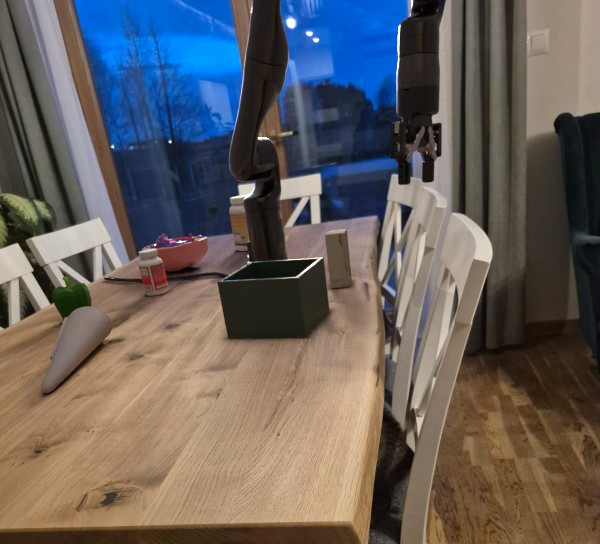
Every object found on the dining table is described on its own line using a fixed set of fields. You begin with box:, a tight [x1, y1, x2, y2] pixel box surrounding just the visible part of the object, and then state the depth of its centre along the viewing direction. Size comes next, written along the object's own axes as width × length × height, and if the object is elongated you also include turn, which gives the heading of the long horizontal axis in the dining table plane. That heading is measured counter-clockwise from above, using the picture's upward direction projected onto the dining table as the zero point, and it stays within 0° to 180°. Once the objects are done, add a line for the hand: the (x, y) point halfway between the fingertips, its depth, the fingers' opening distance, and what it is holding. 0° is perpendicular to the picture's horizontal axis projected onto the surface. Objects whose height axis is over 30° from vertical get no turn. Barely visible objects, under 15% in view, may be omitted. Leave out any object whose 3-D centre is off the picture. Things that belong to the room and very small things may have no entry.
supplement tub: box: [228, 193, 250, 252], centre depth 192 cm, size 12×12×17 cm
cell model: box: [141, 233, 209, 273], centre depth 175 cm, size 17×20×11 cm
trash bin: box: [217, 257, 330, 339], centre depth 111 cm, size 16×16×11 cm
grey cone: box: [41, 306, 113, 394], centre depth 105 cm, size 8×9×26 cm
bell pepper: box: [51, 275, 93, 320], centre depth 135 cm, size 8×8×10 cm
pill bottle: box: [137, 249, 170, 297], centre depth 149 cm, size 6×6×11 cm
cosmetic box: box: [324, 228, 353, 289], centre depth 132 cm, size 6×4×12 cm
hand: (416, 183), depth 108 cm, fingers open, 8 cm apart
